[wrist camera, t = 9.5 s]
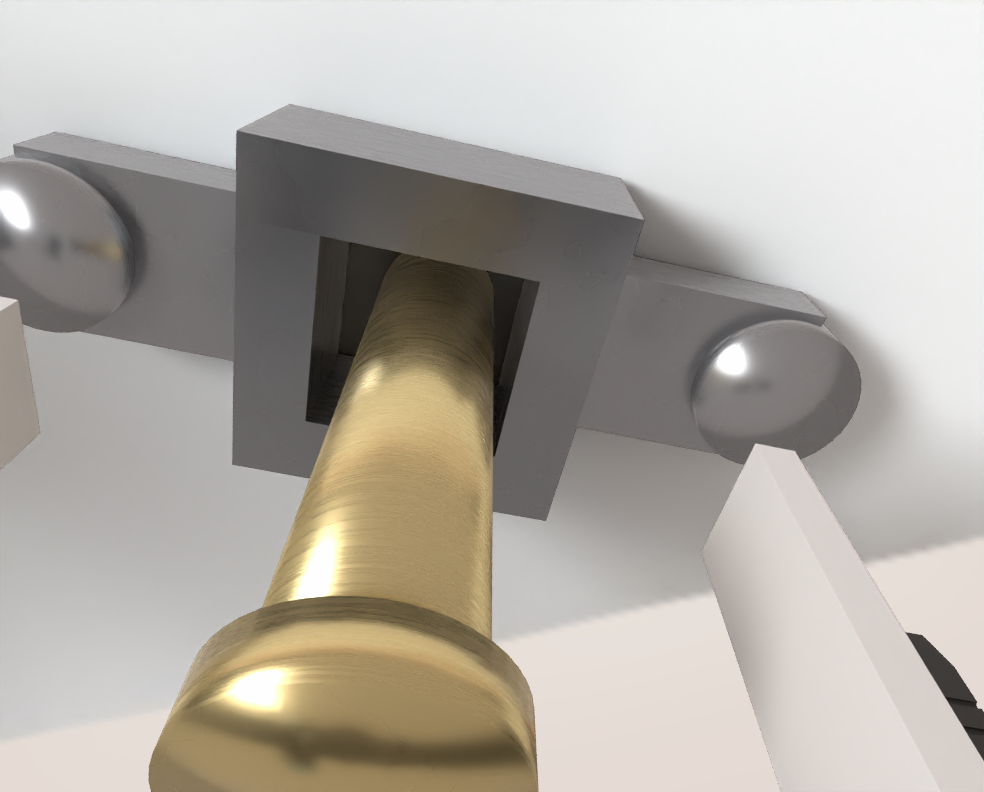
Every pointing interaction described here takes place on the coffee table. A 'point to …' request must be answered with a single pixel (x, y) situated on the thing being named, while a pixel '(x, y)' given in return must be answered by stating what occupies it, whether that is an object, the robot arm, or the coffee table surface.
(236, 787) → the pin
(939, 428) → the coffee table surface
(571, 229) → the chain ends
